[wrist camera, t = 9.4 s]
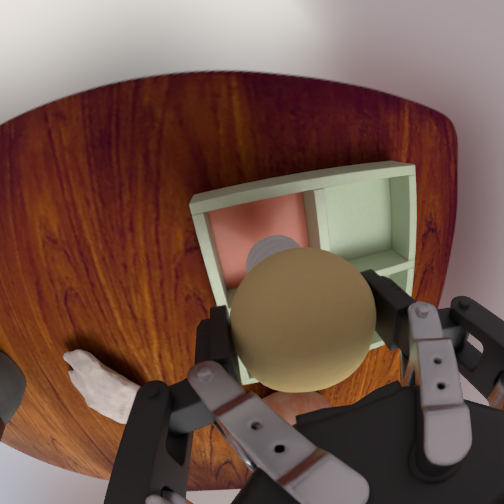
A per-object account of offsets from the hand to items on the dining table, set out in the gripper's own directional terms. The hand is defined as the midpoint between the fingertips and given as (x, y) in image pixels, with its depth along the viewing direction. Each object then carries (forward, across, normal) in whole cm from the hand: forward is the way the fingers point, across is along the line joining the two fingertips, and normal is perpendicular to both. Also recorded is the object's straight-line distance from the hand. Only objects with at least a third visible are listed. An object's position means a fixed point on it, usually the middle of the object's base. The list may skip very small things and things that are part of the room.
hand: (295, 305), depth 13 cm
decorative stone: (+11, +21, +14) cm, 28 cm away
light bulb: (+6, 0, 0) cm, 6 cm away
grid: (+11, -4, +4) cm, 12 cm away
